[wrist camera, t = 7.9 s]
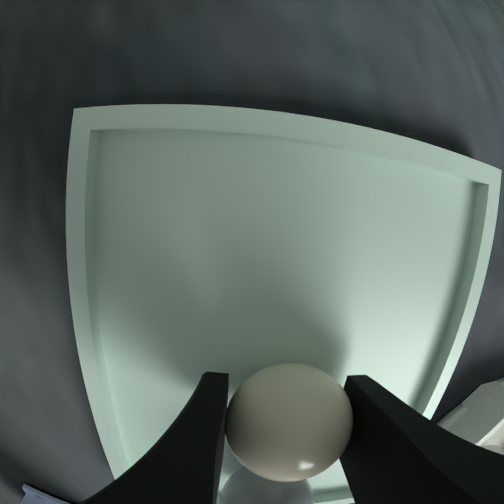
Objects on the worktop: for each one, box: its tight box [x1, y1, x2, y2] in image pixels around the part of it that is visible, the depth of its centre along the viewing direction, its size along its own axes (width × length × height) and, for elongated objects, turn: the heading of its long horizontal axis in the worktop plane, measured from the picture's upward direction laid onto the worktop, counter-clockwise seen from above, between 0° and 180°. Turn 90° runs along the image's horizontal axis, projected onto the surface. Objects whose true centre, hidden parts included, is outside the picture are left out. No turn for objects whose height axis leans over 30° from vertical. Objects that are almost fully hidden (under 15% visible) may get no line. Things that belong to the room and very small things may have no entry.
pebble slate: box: [220, 467, 314, 504], centre depth 8 cm, size 3×3×3 cm
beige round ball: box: [225, 363, 353, 482], centre depth 7 cm, size 3×3×3 cm
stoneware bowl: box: [436, 377, 504, 450], centre depth 11 cm, size 11×11×2 cm
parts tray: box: [66, 104, 501, 504], centre depth 9 cm, size 12×15×1 cm
